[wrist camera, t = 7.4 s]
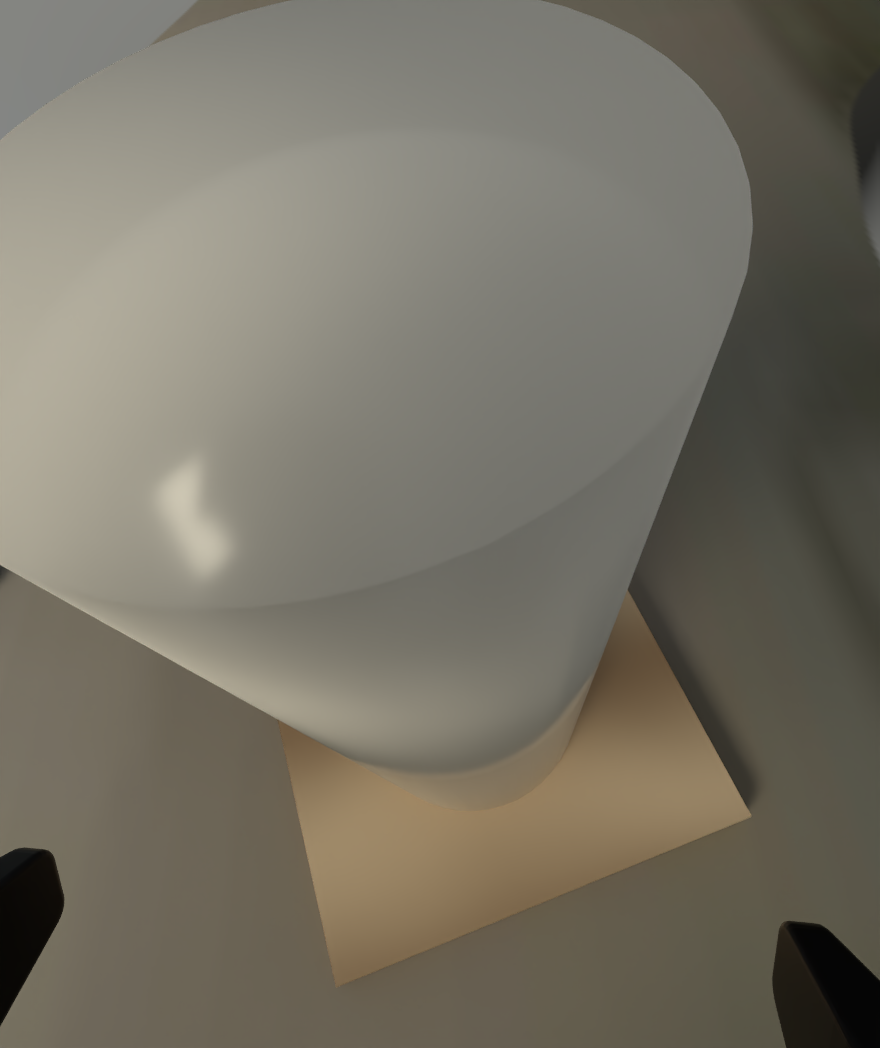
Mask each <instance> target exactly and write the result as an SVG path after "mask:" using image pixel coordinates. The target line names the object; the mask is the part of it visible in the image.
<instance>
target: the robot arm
mask: <svg viewBox="0 0 880 1048" xmlns="http://www.w3.org/2000/svg"><path fill="white" fill-rule="evenodd" d="M63 907H64V894H63V890H62V886H61V882H60V878H59V874H58V870H57V866H56V862H55V859H54V856H53V854H52V853H51V852H50V851H48V850H44V849H34V848H18V849H15V850H13V851H11V852H9V853H7V854H5V855H4V856H2V857H0V1026H1V1024H2V1022H3V1020H4V1018H5V1017H6V1015H7V1013H8V1011H9V1009H10V1008H11V1006H12V1004H13V1002H14V1001H15V999H16V997H17V995H18V993H19V992H20V990H21V988H22V986H23V984H24V983H25V981H26V979H27V977H28V975H29V974H30V972H31V970H32V968H33V966H34V965H35V963H36V961H37V959H38V957H39V956H40V954H41V952H42V950H43V949H44V947H45V945H46V943H47V941H48V940H49V938H50V936H51V934H52V932H53V931H54V929H55V927H56V925H57V923H58V922H59V919H60V917H61V914H62V912H63ZM772 982H773V993H774V999H775V1004H776V1008H777V1012H778V1016H779V1020H780V1024H781V1028H782V1032H783V1036H784V1040H785V1044H786V1048H880V980H879V979H878V978H877V977H876V976H875V975H874V974H873V973H872V972H871V971H870V970H869V969H868V968H867V967H866V966H865V965H864V964H863V963H862V962H861V961H860V960H859V959H858V958H857V957H856V956H855V955H854V954H853V953H852V952H851V951H850V950H849V949H848V948H847V947H846V946H845V945H844V944H843V943H842V942H841V941H839V940H838V939H837V938H836V937H835V936H834V935H833V934H832V933H831V932H830V931H829V930H828V929H827V928H825V927H824V926H822V925H820V924H815V923H805V922H795V921H786V922H783V923H782V925H781V926H780V929H779V934H778V941H777V948H776V955H775V962H774V969H773V977H772Z"/></svg>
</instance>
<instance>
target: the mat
mask: <svg viewBox="0 0 880 1048" xmlns="http://www.w3.org/2000/svg"><path fill="white" fill-rule="evenodd" d="M278 724H279V728H280V733H281V737H282V742H283V747H284V751H285V756H286V760H287V765H288V769H289V774H290V779H291V783H292V788H293V792H294V797H295V802H296V806H297V811H298V815H299V820H300V824H301V829H302V834H303V838H304V843H305V847H306V852H307V857H308V861H309V866H310V870H311V875H312V879H313V884H314V889H315V893H316V898H317V902H318V907H319V912H320V916H321V921H322V925H323V930H324V934H325V939H326V944H327V948H328V953H329V957H330V962H331V967H332V971H333V976H334V980H335V985H336V987H339V986H341V985H343V984H346V983H348V982H351V981H353V980H356V979H358V978H360V977H363V976H365V975H368V974H370V973H373V972H375V971H378V970H380V969H382V968H385V967H387V966H390V965H392V964H395V963H397V962H399V961H402V960H404V959H407V958H409V957H412V956H414V955H416V954H419V953H421V952H424V951H426V950H429V949H431V948H433V947H436V946H438V945H441V944H443V943H446V942H448V941H450V940H453V939H455V938H458V937H460V936H463V935H465V934H467V933H470V932H472V931H475V930H477V929H480V928H482V927H485V926H487V925H489V924H492V923H494V922H497V921H499V920H502V919H504V918H506V917H509V916H511V915H514V914H516V913H519V912H521V911H523V910H526V909H528V908H531V907H533V906H536V905H538V904H540V903H543V902H545V901H548V900H550V899H553V898H555V897H557V896H560V895H562V894H565V893H567V892H570V891H572V890H574V889H577V888H579V887H582V886H584V885H587V884H589V883H591V882H594V881H596V880H599V879H601V878H604V877H606V876H609V875H611V874H613V873H616V872H618V871H621V870H623V869H626V868H628V867H630V866H633V865H635V864H638V863H640V862H643V861H645V860H647V859H650V858H652V857H655V856H657V855H660V854H662V853H664V852H667V851H669V850H672V849H674V848H677V847H679V846H681V845H684V844H686V843H689V842H691V841H694V840H696V839H698V838H701V837H703V836H706V835H708V834H711V833H713V832H716V831H718V830H720V829H723V828H725V827H728V826H730V825H733V824H735V823H737V822H740V821H742V820H745V819H747V818H750V817H752V816H751V814H750V812H749V810H748V809H747V807H746V805H745V803H744V801H743V799H742V798H741V796H740V794H739V792H738V790H737V789H736V787H735V785H734V783H733V781H732V779H731V778H730V776H729V774H728V772H727V770H726V768H725V767H724V765H723V763H722V761H721V759H720V757H719V756H718V754H717V752H716V750H715V748H714V747H713V745H712V743H711V741H710V739H709V737H708V736H707V734H706V732H705V730H704V728H703V726H702V725H701V723H700V721H699V719H698V717H697V715H696V714H695V712H694V710H693V708H692V706H691V704H690V703H689V701H688V699H687V697H686V695H685V694H684V692H683V690H682V688H681V686H680V684H679V683H678V681H677V679H676V677H675V675H674V673H673V672H672V670H671V668H670V666H669V664H668V662H667V661H666V659H665V657H664V655H663V653H662V652H661V650H660V648H659V646H658V644H657V642H656V641H655V639H654V637H653V635H652V633H651V631H650V630H649V628H648V626H647V624H646V622H645V620H644V619H643V617H642V615H641V613H640V611H639V609H638V608H637V606H636V604H635V602H634V600H633V599H632V597H631V595H630V593H629V591H628V590H627V592H626V595H625V597H624V600H623V603H622V605H621V608H620V610H619V613H618V616H617V618H616V621H615V623H614V626H613V629H612V631H611V634H610V636H609V639H608V642H607V644H606V647H605V649H604V652H603V655H602V657H601V660H600V662H599V665H598V668H597V670H596V673H595V676H594V678H593V681H592V683H591V686H590V689H589V691H588V694H587V696H586V699H585V702H584V704H583V707H582V709H581V712H580V715H579V717H578V720H577V722H576V725H575V728H574V730H573V733H572V735H571V738H570V741H569V743H568V746H567V748H566V750H565V752H564V754H563V756H562V758H561V759H560V761H559V762H558V764H557V765H556V767H555V768H554V769H553V771H552V772H551V773H550V774H549V775H548V776H547V777H546V779H545V780H544V781H543V782H542V783H541V784H539V785H538V786H537V787H536V788H534V789H533V790H532V791H531V792H529V793H528V794H526V795H524V796H523V797H521V798H519V799H518V800H515V801H513V802H511V803H508V804H506V805H504V806H500V807H496V808H492V809H488V810H479V811H458V810H452V809H447V808H442V807H439V806H436V805H433V804H430V803H428V802H426V801H424V800H422V799H420V798H418V797H416V796H414V795H412V794H411V793H409V792H407V791H405V790H403V789H402V788H400V787H398V786H396V785H394V784H393V783H391V782H389V781H387V780H385V779H384V778H382V777H380V776H378V775H376V774H375V773H373V772H371V771H369V770H367V769H366V768H364V767H362V766H360V765H359V764H357V763H355V762H353V761H351V760H350V759H348V758H346V757H344V756H342V755H341V754H339V753H337V752H335V751H333V750H332V749H330V748H328V747H326V746H324V745H323V744H321V743H319V742H317V741H315V740H314V739H312V738H310V737H308V736H306V735H305V734H303V733H301V732H299V731H297V730H296V729H294V728H292V727H290V726H288V725H287V724H285V723H283V722H281V721H279V720H278Z"/></svg>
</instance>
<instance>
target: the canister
mask: <svg viewBox="0 0 880 1048" xmlns="http://www.w3.org/2000/svg"><path fill="white" fill-rule="evenodd" d="M752 231H753V219H752V207H751V194H750V184H749V180H748V177H747V174H746V170H745V167H744V164H743V160H742V157H741V154H740V150H739V147H738V145H737V143H736V141H735V139H734V137H733V136H732V134H731V132H730V130H729V128H728V126H727V124H726V123H725V121H724V119H723V117H722V115H721V113H720V112H719V111H718V109H717V108H716V107H715V106H714V104H713V103H712V102H711V101H710V99H709V98H708V97H707V96H706V94H705V93H704V92H703V91H702V89H701V88H700V87H699V86H698V85H697V83H696V82H695V81H693V80H692V79H691V78H690V77H689V76H688V75H687V74H686V73H684V72H683V71H682V70H681V69H680V68H679V67H678V66H677V65H675V64H674V63H673V62H672V61H671V60H670V59H669V58H667V57H666V56H664V55H663V54H661V53H660V52H658V51H657V50H655V49H654V48H652V47H651V46H649V45H648V44H646V43H645V42H643V41H642V40H640V39H638V38H637V37H635V36H633V35H631V34H629V33H627V32H625V31H623V30H621V29H619V28H617V27H615V26H613V25H611V24H609V23H607V22H605V21H603V20H600V19H597V18H595V17H592V16H589V15H586V14H584V13H581V12H578V11H575V10H572V9H570V8H567V7H564V6H560V5H556V4H552V3H548V2H544V1H540V0H292V1H287V2H281V3H277V4H273V5H269V6H266V7H262V8H258V9H254V10H250V11H246V12H242V13H238V14H235V15H232V16H229V17H226V18H223V19H220V20H217V21H214V22H211V23H208V24H204V25H201V26H198V27H196V28H193V29H191V30H188V31H186V32H183V33H181V34H178V35H175V36H173V37H170V38H168V39H165V40H163V41H160V42H158V43H156V44H154V45H151V46H149V47H147V48H145V49H143V50H141V51H139V52H137V53H134V54H133V55H130V56H128V57H126V58H124V59H121V60H120V61H118V62H116V63H114V64H112V65H110V66H109V67H107V68H105V69H103V70H101V71H100V72H98V73H96V74H94V75H92V76H90V77H89V78H87V79H85V80H83V81H81V82H80V83H78V84H77V85H75V86H74V87H72V88H71V89H69V90H68V91H66V92H64V93H63V94H61V95H60V96H58V97H57V98H55V99H54V100H52V101H50V102H49V103H47V104H46V105H44V106H43V107H42V108H41V109H39V110H38V111H36V112H35V113H34V114H32V115H31V116H30V117H28V118H27V119H26V120H25V121H23V122H22V123H20V124H19V125H18V126H16V127H15V128H14V129H13V130H11V131H10V132H9V133H8V134H7V135H6V136H5V137H3V139H1V140H0V565H1V566H3V567H5V568H7V569H8V570H10V571H12V572H14V573H16V574H17V575H19V576H21V577H23V578H24V579H26V580H28V581H30V582H32V583H33V584H35V585H37V586H39V587H41V588H42V589H44V590H46V591H48V592H50V593H51V594H53V595H55V596H57V597H59V598H60V599H62V600H64V601H66V602H68V603H69V604H71V605H73V606H75V607H77V608H78V609H80V610H82V611H84V612H86V613H87V614H89V615H91V616H93V617H95V618H96V619H98V620H100V621H102V622H103V623H105V624H107V625H109V626H111V627H112V628H114V629H116V630H118V631H120V632H121V633H123V634H125V635H127V636H129V637H130V638H132V639H134V640H136V641H138V642H139V643H141V644H143V645H145V646H147V647H148V648H150V649H152V650H154V651H156V652H157V653H159V654H161V655H163V656H165V657H166V658H168V659H170V660H172V661H174V662H175V663H177V664H179V665H181V666H183V667H184V668H186V669H188V670H190V671H191V672H193V673H195V674H197V675H199V676H200V677H202V678H204V679H206V680H208V681H209V682H211V683H213V684H215V685H217V686H218V687H220V688H222V689H224V690H226V691H227V692H229V693H231V694H233V695H235V696H236V697H238V698H240V699H242V700H244V701H245V702H247V703H249V704H251V705H253V706H254V707H256V708H258V709H260V710H262V711H263V712H265V713H267V714H269V715H271V716H272V717H274V718H276V719H278V720H279V721H281V722H283V723H285V724H287V725H288V726H290V727H292V728H294V729H296V730H297V731H299V732H301V733H303V734H305V735H306V736H308V737H310V738H312V739H314V740H315V741H317V742H319V743H321V744H323V745H324V746H326V747H328V748H330V749H332V750H333V751H335V752H337V753H339V754H341V755H342V756H344V757H346V758H348V759H350V760H351V761H353V762H355V763H357V764H359V765H360V766H362V767H364V768H366V769H367V770H369V771H371V772H373V773H375V774H376V775H378V776H380V777H382V778H384V779H385V780H387V781H389V782H391V783H393V784H394V785H396V786H398V787H400V788H402V789H403V790H405V791H407V792H409V793H411V794H412V795H414V796H416V797H418V798H420V799H422V800H424V801H426V802H428V803H430V804H433V805H436V806H439V807H442V808H447V809H452V810H458V811H479V810H488V809H492V808H496V807H500V806H504V805H506V804H508V803H511V802H513V801H515V800H518V799H519V798H521V797H523V796H524V795H526V794H528V793H529V792H531V791H532V790H533V789H534V788H536V787H537V786H538V785H539V784H541V783H542V782H543V781H544V780H545V779H546V777H547V776H548V775H549V774H550V773H551V772H552V771H553V769H554V768H555V767H556V765H557V764H558V762H559V761H560V759H561V758H562V756H563V754H564V752H565V750H566V748H567V746H568V743H569V741H570V738H571V735H572V733H573V730H574V728H575V725H576V722H577V720H578V717H579V715H580V712H581V709H582V707H583V704H584V702H585V699H586V696H587V694H588V691H589V689H590V686H591V683H592V681H593V678H594V676H595V673H596V670H597V668H598V665H599V662H600V660H601V657H602V655H603V652H604V649H605V647H606V644H607V642H608V639H609V636H610V634H611V631H612V629H613V626H614V623H615V621H616V618H617V616H618V613H619V610H620V608H621V605H622V603H623V600H624V597H625V595H626V592H627V590H628V587H629V584H630V582H631V579H632V577H633V574H634V571H635V569H636V566H637V563H638V561H639V558H640V556H641V553H642V550H643V548H644V545H645V543H646V540H647V537H648V535H649V532H650V530H651V527H652V524H653V522H654V519H655V517H656V514H657V511H658V509H659V506H660V504H661V501H662V498H663V496H664V493H665V491H666V488H667V485H668V483H669V480H670V478H671V475H672V472H673V470H674V467H675V464H676V462H677V459H678V457H679V454H680V451H681V449H682V446H683V444H684V441H685V438H686V436H687V433H688V431H689V428H690V425H691V423H692V420H693V418H694V415H695V412H696V410H697V407H698V405H699V402H700V399H701V397H702V394H703V392H704V389H705V386H706V384H707V381H708V378H709V376H710V373H711V371H712V368H713V365H714V363H715V360H716V358H717V355H718V352H719V350H720V347H721V345H722V342H723V339H724V337H725V334H726V332H727V329H728V326H729V324H730V321H731V318H732V315H733V313H734V310H735V307H736V304H737V301H738V298H739V295H740V292H741V289H742V286H743V283H744V280H745V277H746V274H747V270H748V262H749V254H750V246H751V239H752Z"/></svg>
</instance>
